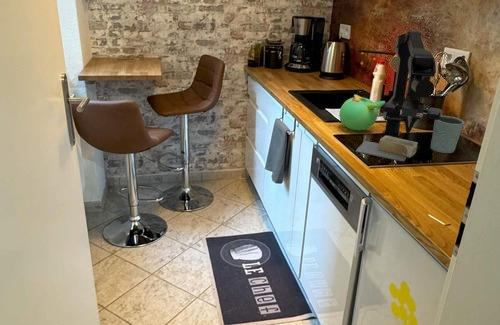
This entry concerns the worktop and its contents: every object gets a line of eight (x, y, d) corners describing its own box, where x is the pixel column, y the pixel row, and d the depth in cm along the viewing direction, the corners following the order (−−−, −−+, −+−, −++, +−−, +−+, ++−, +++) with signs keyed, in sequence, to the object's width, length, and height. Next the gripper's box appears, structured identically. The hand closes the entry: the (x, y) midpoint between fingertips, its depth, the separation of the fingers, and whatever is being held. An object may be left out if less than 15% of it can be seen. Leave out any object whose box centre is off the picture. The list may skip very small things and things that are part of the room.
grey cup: (433, 142, 163) (439, 114, 159) (460, 149, 157) (467, 119, 153) (425, 149, 156) (431, 119, 151) (453, 156, 150) (460, 125, 145)
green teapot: (344, 120, 188) (348, 89, 182) (381, 127, 181) (387, 94, 175) (332, 131, 173) (336, 97, 168) (372, 138, 166) (377, 103, 160)
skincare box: (416, 153, 151) (384, 145, 158) (418, 142, 149) (386, 134, 156) (410, 158, 146) (377, 149, 153) (412, 147, 145) (379, 139, 152)
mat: (364, 141, 162) (364, 140, 162) (410, 150, 155) (410, 149, 154) (355, 151, 152) (355, 150, 152) (404, 161, 144) (404, 160, 144)
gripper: (383, 91, 138) (376, 134, 144) (442, 99, 130) (432, 145, 136) (390, 85, 147) (383, 126, 153) (445, 92, 139) (436, 135, 145)
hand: (407, 133), depth 147 cm, fingers closed
